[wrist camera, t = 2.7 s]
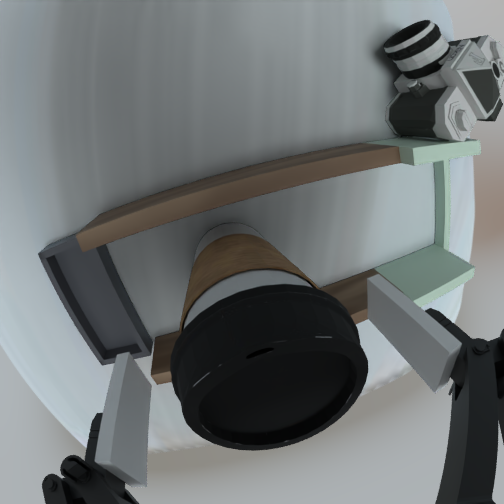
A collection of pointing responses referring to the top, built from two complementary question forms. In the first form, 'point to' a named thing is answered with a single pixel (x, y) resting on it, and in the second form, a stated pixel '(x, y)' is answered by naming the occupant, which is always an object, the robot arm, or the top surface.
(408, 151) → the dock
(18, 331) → the top surface
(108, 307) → the tray
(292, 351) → the coffee cup
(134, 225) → the channel
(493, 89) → the camera
